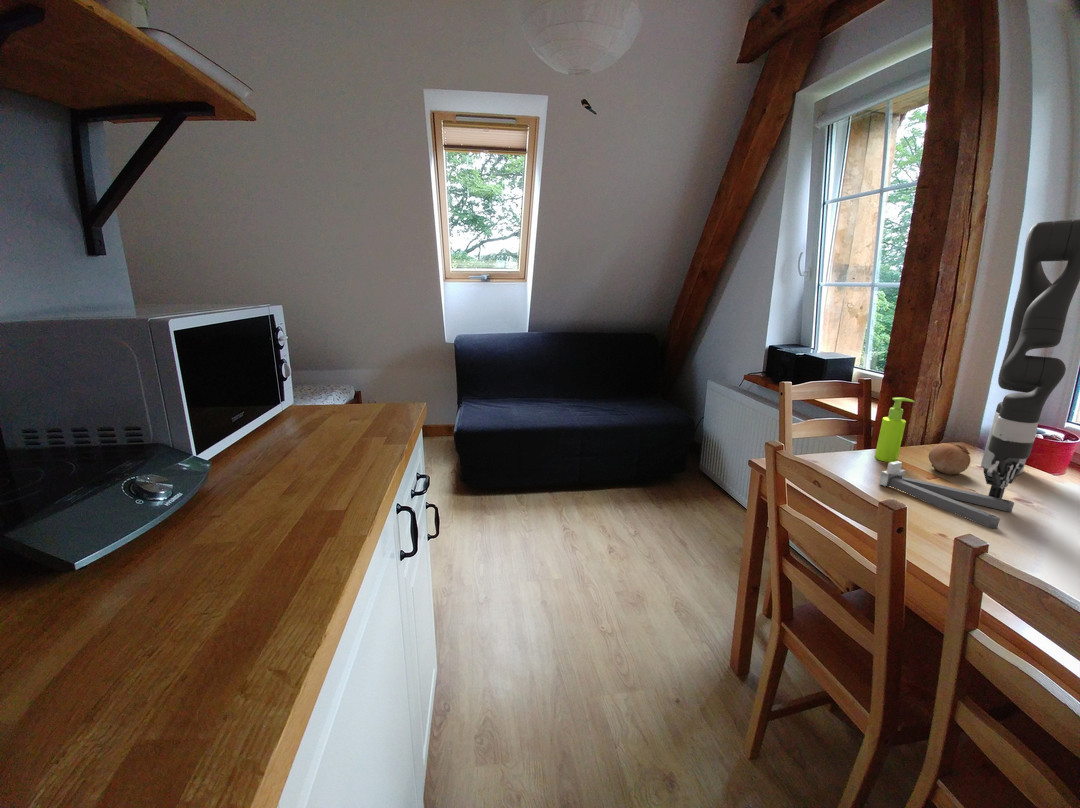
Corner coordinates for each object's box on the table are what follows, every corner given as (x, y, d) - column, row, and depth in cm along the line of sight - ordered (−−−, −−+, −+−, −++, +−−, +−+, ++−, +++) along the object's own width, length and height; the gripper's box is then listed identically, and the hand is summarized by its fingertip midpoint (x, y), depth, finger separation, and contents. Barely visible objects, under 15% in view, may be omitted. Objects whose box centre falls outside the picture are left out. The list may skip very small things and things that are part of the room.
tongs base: (880, 483, 135) (881, 475, 134) (890, 480, 137) (892, 472, 136) (994, 529, 112) (997, 519, 111) (1005, 525, 113) (1008, 516, 113)
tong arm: (900, 486, 133) (902, 479, 132) (901, 483, 134) (903, 476, 134) (1012, 512, 119) (1014, 504, 118) (1011, 509, 120) (1013, 501, 120)
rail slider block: (878, 483, 134) (883, 463, 133) (895, 479, 137) (899, 459, 135) (886, 486, 133) (890, 465, 131) (902, 482, 135) (907, 462, 133)
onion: (957, 482, 143) (983, 456, 139) (948, 481, 138) (976, 454, 134) (925, 461, 150) (950, 435, 146) (915, 459, 144) (941, 433, 140)
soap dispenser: (904, 463, 149) (918, 401, 143) (879, 461, 150) (893, 400, 145) (895, 456, 155) (908, 396, 149) (871, 454, 156) (883, 395, 150)
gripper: (1009, 427, 124) (991, 488, 129) (979, 435, 119) (961, 497, 124) (1047, 437, 118) (1027, 501, 122) (1017, 445, 113) (997, 511, 118)
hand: (994, 499), depth 123 cm, fingers closed
